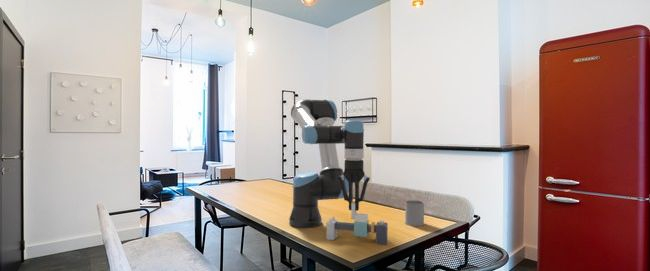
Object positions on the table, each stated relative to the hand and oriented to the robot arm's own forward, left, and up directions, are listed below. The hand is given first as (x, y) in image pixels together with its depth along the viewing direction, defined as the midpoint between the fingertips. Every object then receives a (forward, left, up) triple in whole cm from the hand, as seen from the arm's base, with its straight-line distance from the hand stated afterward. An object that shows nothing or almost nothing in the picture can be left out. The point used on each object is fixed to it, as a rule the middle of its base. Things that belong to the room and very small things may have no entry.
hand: (353, 218), depth 127 cm
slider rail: (+1, 0, -8) cm, 8 cm away
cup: (+23, +29, -9) cm, 39 cm away
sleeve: (+3, 0, -6) cm, 7 cm away
